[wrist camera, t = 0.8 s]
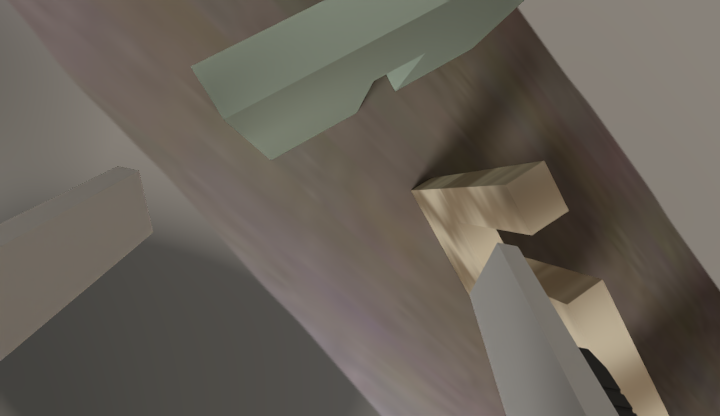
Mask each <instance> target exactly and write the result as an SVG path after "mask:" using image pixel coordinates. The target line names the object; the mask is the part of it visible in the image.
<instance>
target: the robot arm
mask: <svg viewBox="0 0 720 416" xmlns="http://www.w3.org/2000/svg"><path fill="white" fill-rule="evenodd" d="M152 233H153V229H152V224H151V220H150V216H149V212H148V207H147V203H146V199H145V195H144V190H143V186H142V182H141V177H140V173H139V170H134V169H128V168H124V167H119V166H117V167H115V168H113V169H111V170H109V171H107V172H105V173H103V174H101V175H99V176H97V177H95V178H93V179H91V180H89V181H86V182H84V183H82V184H80V185H78V186H76V187H74V188H72V189H70V190H68V191H66V192H64V193H62V194H60V195H58V196H56V197H54V198H52V199H50V200H48V201H46V202H44V203H42V204H40V205H38V206H36V207H33V208H31V209H29V210H27V211H25V212H23V213H21V214H19V215H17V216H15V217H13V218H11V219H9V220H7V221H5V222H3V223H1V224H0V361H1V360H2V359H3V358H4V357H6V356H7V355H8V354H9V353H10V352H12V351H13V350H14V349H15V348H16V347H18V346H19V345H20V344H21V343H22V342H23V341H24V340H26V339H27V338H28V337H29V336H30V335H32V334H33V333H34V332H35V331H36V330H38V329H39V328H40V327H41V326H42V325H44V324H45V323H46V322H47V321H48V320H50V318H52V317H53V316H54V315H55V314H57V313H58V312H59V311H60V310H61V309H62V308H64V307H65V306H66V305H67V304H69V303H70V302H71V301H72V300H73V299H74V298H76V297H77V296H78V295H79V294H80V293H82V292H83V291H84V290H85V289H86V288H88V286H90V285H91V284H92V283H94V282H95V281H96V280H97V279H98V278H99V277H101V276H102V275H103V274H104V273H105V272H106V271H108V270H109V269H110V268H111V267H112V266H114V265H115V264H116V263H117V262H118V261H120V260H121V259H122V258H123V257H124V256H126V255H127V254H128V253H129V252H130V251H132V250H133V249H134V248H135V247H136V246H137V245H139V244H140V243H141V242H142V241H143V240H144V239H146V238H147V237H148V236H149V235H150V234H152ZM469 295H470V298H471V301H472V305H473V308H474V311H475V315H476V318H477V321H478V324H479V328H480V331H481V334H482V338H483V341H484V344H485V347H486V351H487V354H488V357H489V361H490V364H491V367H492V371H493V374H494V377H495V380H496V384H497V387H498V390H499V394H500V397H501V400H502V403H503V407H504V410H505V413H506V416H637V414H636V413H633V411H632V409H633V408H632V406H631V405H630V403H629V402H628V400H627V399H626V397H625V396H624V394H621V389H620V388H619V386H618V385H617V383H616V382H615V380H614V379H613V377H612V375H611V374H610V372H609V371H608V369H607V368H606V367H605V366H604V365H603V364H602V363H601V362H600V361H599V360H598V359H597V358H596V357H595V356H594V355H593V353H592V352H591V351H590V350H589V349H586V348H581V347H578V346H577V344H576V343H575V341H574V339H573V338H572V336H571V334H570V333H569V331H568V329H567V328H566V326H565V324H564V323H563V321H562V319H561V318H560V316H559V314H558V313H557V311H556V309H555V308H554V306H553V304H552V303H551V301H550V299H549V298H548V296H547V294H546V293H545V291H544V289H543V288H542V286H541V284H540V283H539V281H538V279H537V278H536V276H535V274H534V273H533V271H532V269H531V268H530V266H529V264H528V263H527V261H526V259H525V258H524V256H523V254H522V253H521V251H520V249H519V248H518V246H513V245H508V244H503V243H498V242H497V244H496V246H495V248H494V250H493V251H492V253H491V255H490V257H489V259H488V261H487V263H486V264H485V266H484V268H483V270H482V272H481V274H480V276H479V277H478V279H477V281H476V283H475V285H474V287H473V289H472V290H471V292H470V294H469Z"/></svg>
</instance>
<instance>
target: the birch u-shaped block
mask: <svg viewBox="0 0 720 416" xmlns="http://www.w3.org/2000/svg"><path fill="white" fill-rule="evenodd" d="M411 192H412V193H413V195H414V197H415V199H416V201H417V202H418V204H419V206H420V208H421V210H422V211H423V213H424V215H425V217H426V219H427V220H428V222H429V224H430V226H431V228H432V229H433V231H434V233H435V235H436V237H437V238H438V240H439V242H440V244H441V246H442V247H443V249H444V251H445V253H446V255H447V256H448V258H449V260H450V262H451V264H452V265H453V267H454V269H455V271H456V273H457V274H458V276H459V278H460V280H461V282H462V283H463V285H464V287H465V289H466V291H467V292H468V294H470V292H471V290H472V289H473V287H474V285H475V283H476V281H477V279H478V277H479V276H480V274H481V272H482V270H483V268H484V266H485V264H486V263H487V261H488V259H489V257H490V255H491V253H492V251H493V250H494V248H495V246H496V244H497V242H498V243H503V241H502V239H501V238H500V236H499V234H498V232H497V230H496V229H499V230H504V231H510V232H515V233H521V234H527V235H533V234H535V233H536V232H538V231H539V230H541V229H542V228H544V227H545V226H547V225H548V224H550V223H551V222H553V221H554V220H556V219H557V218H559V217H560V216H562V215H563V214H565V213H566V212H568V211H569V210H568V208H567V206H566V204H565V202H564V200H563V198H562V196H561V194H560V192H559V190H558V188H557V185H556V183H555V181H554V179H553V177H552V175H551V173H550V171H549V169H548V167H547V165H546V163H545V161H538V162H531V163H525V164H519V165H512V166H506V167H499V168H493V169H486V170H480V171H473V172H467V173H460V174H454V175H448V176H441V177H435V178H431V179H429V180H427V181H426V182H424V183H422V184H421V185H419V186H418V187H416V188H414V189H413V190H411ZM503 244H504V243H503ZM524 258H525V259H526V261H527V263H528V264H529V266H530V268H531V269H532V271H533V273H534V274H535V276H536V278H537V279H538V281H539V283H540V284H541V286H542V288H543V289H544V291H545V293H546V294H547V296H548V298H549V299H550V301H551V303H552V304H553V306H554V308H555V309H556V311H557V313H558V314H559V316H560V318H561V319H562V321H563V323H564V324H565V326H566V328H567V329H568V331H569V333H570V334H571V336H572V338H573V339H574V341H575V343H576V344H577V346H578V347H581V348H586V349H589V350H590V351H591V352H592V353H593V355H594V356H595V357H596V358H597V359H598V360H599V361H600V362H601V363H602V364H603V365H604V366H605V367H606V368H607V369H608V371H609V372H610V374H611V375H612V377H613V379H614V380H615V382H616V383H617V385H618V386H619V388H620V389H621V394H624V396H625V397H626V399H627V400H628V402H629V403H630V405H631V406H632V408H633V409H632V411H633V413H636V414H637V416H669V415H668V413H667V411H666V409H665V406H664V404H663V402H662V400H661V398H660V396H659V394H658V392H657V390H656V388H655V386H654V384H653V382H652V380H651V378H650V376H649V374H648V372H647V370H646V368H645V366H644V364H643V361H642V359H641V357H640V355H639V353H638V351H637V349H636V347H635V345H634V343H633V341H632V339H631V337H630V335H629V333H628V331H627V329H626V327H625V325H624V323H623V321H622V318H621V316H620V314H619V312H618V310H617V308H616V306H615V304H614V302H613V300H612V298H611V296H610V294H609V292H608V290H607V288H606V286H605V284H604V282H603V280H602V279H599V278H595V277H592V276H588V275H585V274H582V273H578V272H575V271H571V270H568V269H564V268H561V267H557V266H554V265H550V264H547V263H543V262H540V261H536V260H533V259H529V258H526V257H524ZM469 296H470V295H469Z"/></svg>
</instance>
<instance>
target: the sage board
mask: <svg viewBox="0 0 720 416" xmlns="http://www.w3.org/2000/svg"><path fill="white" fill-rule="evenodd" d="M523 1H524V0H324V1H322V2H320V3H318V4H316V5H314V6H312V7H310V8H308V9H306V10H304V11H302V12H300V13H298V14H296V15H294V16H292V17H290V18H288V19H286V20H284V21H282V22H280V23H278V24H276V25H274V26H272V27H270V28H268V29H266V30H264V31H262V32H259V33H257V34H255V35H253V36H251V37H249V38H247V39H245V40H243V41H241V42H239V43H237V44H235V45H233V46H231V47H229V48H227V49H225V50H223V51H221V52H219V53H217V54H215V55H213V56H211V57H209V58H207V59H205V60H203V61H201V62H199V63H197V64H195V65H193V66H191V68H192V69H193V71H194V73H195V74H196V76H197V77H198V79H199V81H200V82H201V84H202V85H203V87H204V89H205V90H206V92H207V94H208V95H209V97H210V98H211V100H212V102H213V103H214V105H215V106H216V108H217V110H218V111H219V113H220V115H221V116H222V118H223V119H224V120H225V121H226V122H227V123H228V124H229V125H230V126H232V127H233V128H234V129H235V130H236V131H237V132H239V133H240V134H241V135H242V136H243V137H244V138H246V139H247V140H248V141H249V142H250V143H251V144H253V145H254V146H255V147H256V148H257V149H258V150H259V151H261V152H262V153H263V154H264V155H265V156H266V157H268V158H269V159H270V160H273V159H274V158H276V157H278V156H280V155H282V154H283V153H285V152H287V151H289V150H291V149H292V148H294V147H296V146H298V145H300V144H301V143H303V142H305V141H307V140H309V139H310V138H312V137H314V136H316V135H318V134H319V133H321V132H323V131H325V130H327V129H328V128H330V127H332V126H334V125H336V124H337V123H339V122H341V121H343V120H345V119H346V118H348V117H350V116H352V115H354V114H355V113H357V112H358V110H359V108H360V106H361V104H362V102H363V100H364V98H365V96H366V95H367V93H368V91H369V89H370V87H371V85H372V83H373V81H375V80H377V79H378V78H380V77H382V76H384V75H387V77H388V79H389V81H390V83H391V84H392V86H393V88H394V90H395V91H397V90H399V89H400V88H402V87H404V86H406V85H408V84H409V83H411V82H413V81H415V80H417V79H418V78H420V77H422V76H424V75H426V74H427V73H429V72H431V71H433V70H435V69H436V68H438V67H440V66H442V65H444V64H445V63H447V62H449V61H451V60H453V59H454V58H456V57H458V56H460V55H462V54H463V53H465V52H467V51H469V50H471V49H472V48H473V47H474V46H475V45H477V44H478V43H479V42H480V41H481V40H482V39H483V38H484V37H485V36H486V35H487V34H488V33H490V32H491V31H492V30H493V29H494V28H495V27H496V26H497V25H498V24H499V23H500V22H501V21H502V20H504V19H505V18H506V17H507V16H508V15H509V14H510V13H511V12H512V11H513V10H514V9H515V8H517V7H518V6H519V5H520V4H521V3H522V2H523Z"/></svg>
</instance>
